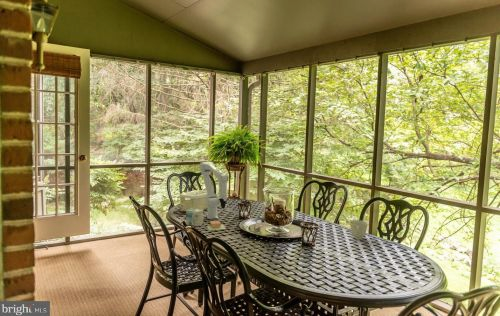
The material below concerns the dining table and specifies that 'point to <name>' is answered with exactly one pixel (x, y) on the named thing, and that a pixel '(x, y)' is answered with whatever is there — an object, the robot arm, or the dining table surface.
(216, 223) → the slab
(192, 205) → the storage basket
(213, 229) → the mat
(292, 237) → the dining table surface
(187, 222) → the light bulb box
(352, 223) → the teacup
